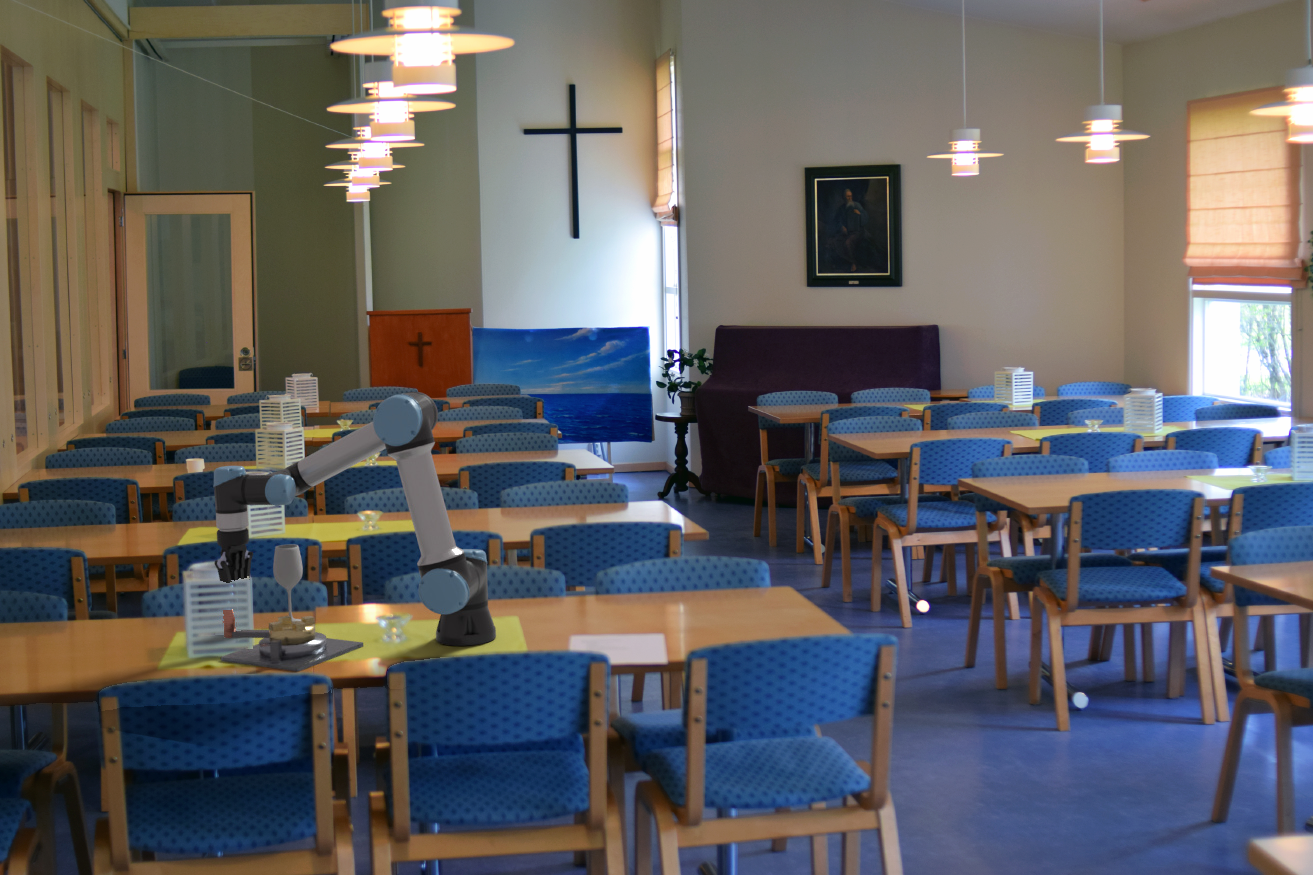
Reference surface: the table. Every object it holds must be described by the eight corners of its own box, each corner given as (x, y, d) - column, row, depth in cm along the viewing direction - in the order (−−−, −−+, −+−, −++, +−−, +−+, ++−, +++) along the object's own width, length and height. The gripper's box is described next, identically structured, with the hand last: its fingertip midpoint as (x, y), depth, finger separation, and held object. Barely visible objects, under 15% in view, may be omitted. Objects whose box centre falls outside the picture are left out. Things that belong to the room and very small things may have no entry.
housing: (363, 646, 328) (362, 622, 328) (298, 671, 307) (297, 646, 306) (289, 637, 339) (287, 614, 338) (220, 660, 317) (219, 636, 317)
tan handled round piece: (322, 632, 327) (320, 603, 326) (306, 644, 316) (304, 614, 315) (233, 632, 330) (231, 603, 329) (214, 643, 319) (212, 613, 318)
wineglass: (276, 627, 349) (272, 550, 347) (276, 620, 356) (272, 544, 354) (305, 625, 351) (301, 548, 349) (305, 618, 358) (301, 543, 356)
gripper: (235, 523, 332) (240, 614, 334) (203, 532, 319) (208, 627, 322) (260, 524, 329) (265, 616, 332) (229, 533, 317) (235, 628, 320)
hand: (237, 621), depth 327 cm, fingers closed
